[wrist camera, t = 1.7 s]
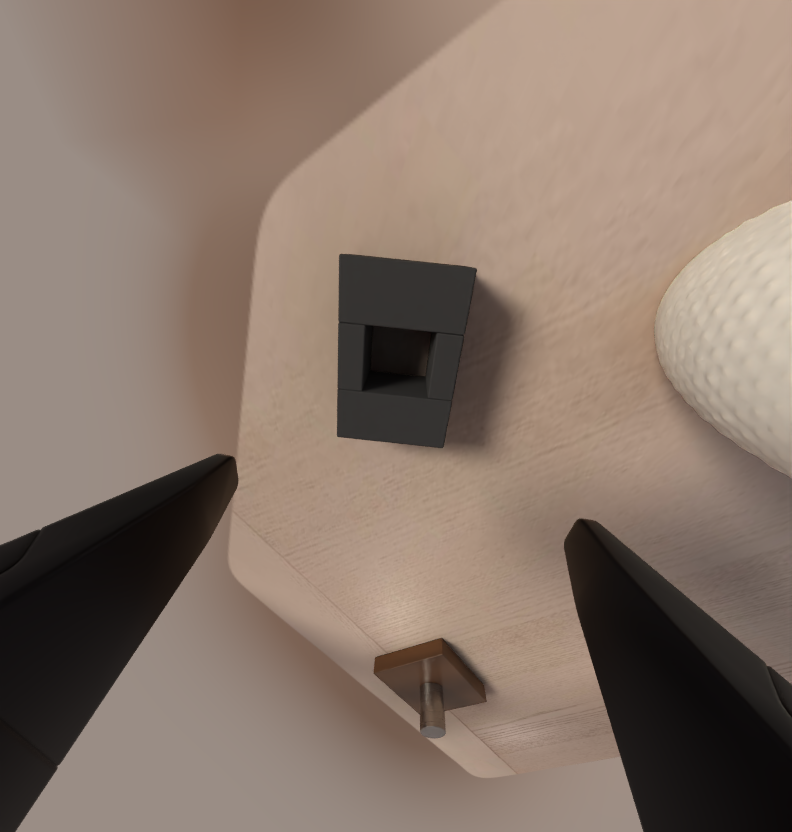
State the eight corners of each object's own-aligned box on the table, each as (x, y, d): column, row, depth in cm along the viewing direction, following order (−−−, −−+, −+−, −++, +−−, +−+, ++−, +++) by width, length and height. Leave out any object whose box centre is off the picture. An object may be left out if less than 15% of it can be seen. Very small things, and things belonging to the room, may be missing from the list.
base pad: (374, 657, 34) (368, 717, 29) (441, 637, 32) (445, 700, 27) (421, 700, 37) (422, 759, 33) (484, 685, 35) (494, 747, 31)
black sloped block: (439, 420, 21) (443, 448, 18) (348, 410, 21) (336, 437, 18) (465, 266, 17) (477, 268, 14) (352, 254, 17) (338, 253, 14)
